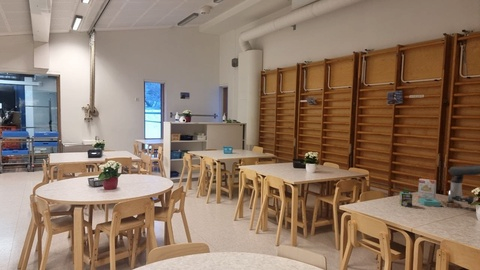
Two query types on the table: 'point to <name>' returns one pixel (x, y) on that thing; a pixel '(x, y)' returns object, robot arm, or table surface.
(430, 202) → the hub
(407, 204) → the chalk box
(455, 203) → the frame
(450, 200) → the peg
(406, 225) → the table surface
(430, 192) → the cracker box
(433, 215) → the table surface
